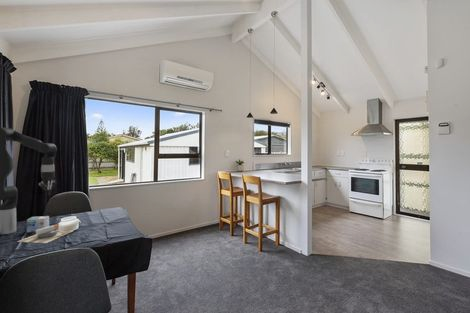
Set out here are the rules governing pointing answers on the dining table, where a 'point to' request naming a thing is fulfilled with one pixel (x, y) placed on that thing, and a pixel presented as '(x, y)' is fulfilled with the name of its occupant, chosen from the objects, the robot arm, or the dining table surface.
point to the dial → (47, 231)
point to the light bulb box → (37, 223)
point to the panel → (44, 240)
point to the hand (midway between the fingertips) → (47, 194)
